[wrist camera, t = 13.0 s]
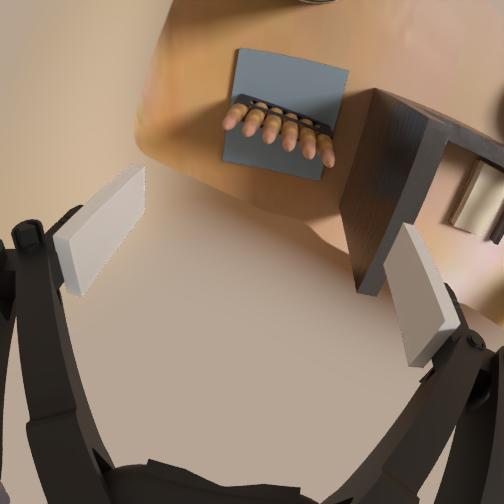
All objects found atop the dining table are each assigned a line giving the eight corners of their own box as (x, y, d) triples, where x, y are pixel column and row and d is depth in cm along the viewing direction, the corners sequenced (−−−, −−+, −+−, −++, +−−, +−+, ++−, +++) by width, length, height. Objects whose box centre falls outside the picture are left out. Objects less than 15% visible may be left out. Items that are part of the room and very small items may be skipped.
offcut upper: (508, 174, 32) (512, 178, 31) (479, 232, 38) (482, 236, 37) (480, 159, 32) (484, 163, 31) (450, 221, 38) (453, 226, 37)
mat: (347, 70, 30) (348, 70, 29) (319, 179, 38) (319, 181, 38) (240, 47, 30) (239, 47, 29) (223, 159, 38) (222, 161, 38)
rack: (530, 161, 30) (598, 219, 17) (488, 249, 40) (532, 323, 27) (375, 87, 30) (429, 117, 17) (339, 206, 40) (356, 292, 27)
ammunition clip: (235, 107, 33) (210, 135, 24) (240, 93, 32) (216, 113, 23) (324, 139, 34) (336, 180, 25) (330, 125, 33) (346, 161, 24)
